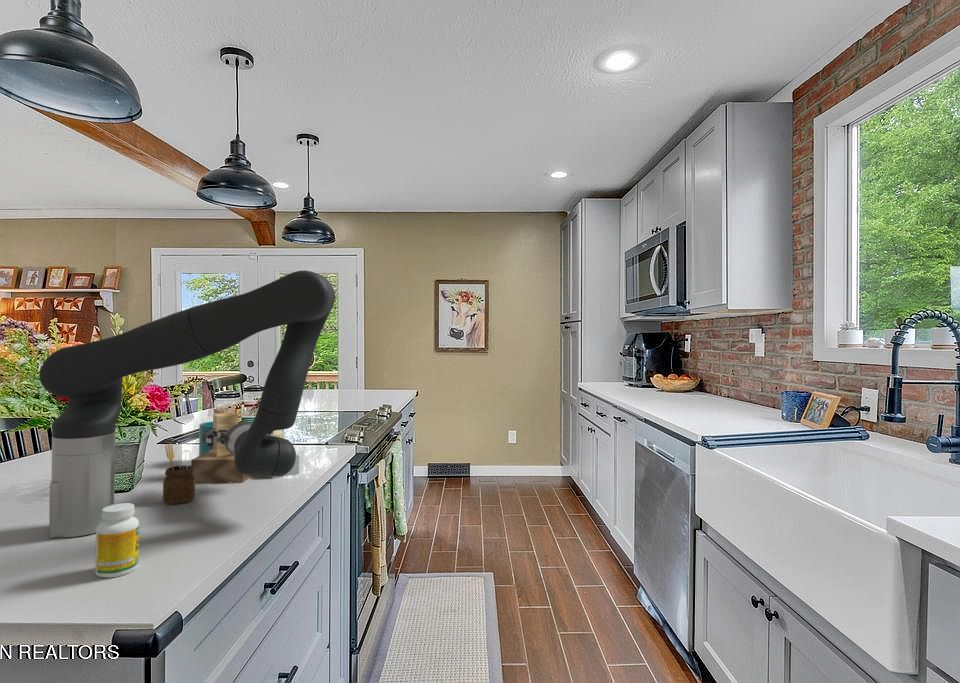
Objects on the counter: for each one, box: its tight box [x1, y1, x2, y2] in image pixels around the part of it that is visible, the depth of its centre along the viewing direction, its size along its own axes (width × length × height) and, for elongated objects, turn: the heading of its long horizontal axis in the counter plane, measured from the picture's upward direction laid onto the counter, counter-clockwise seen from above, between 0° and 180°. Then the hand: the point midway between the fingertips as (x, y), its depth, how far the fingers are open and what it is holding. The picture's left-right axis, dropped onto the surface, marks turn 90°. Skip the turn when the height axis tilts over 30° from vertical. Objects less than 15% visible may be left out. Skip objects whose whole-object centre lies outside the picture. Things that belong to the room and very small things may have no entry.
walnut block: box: [190, 449, 253, 484], centre depth 134 cm, size 12×13×6 cm
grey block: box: [266, 454, 300, 480], centre depth 137 cm, size 7×7×5 cm
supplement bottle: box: [94, 502, 140, 579], centre depth 79 cm, size 5×5×10 cm
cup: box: [198, 421, 213, 456], centre depth 145 cm, size 9×12×11 cm
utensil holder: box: [162, 442, 196, 505], centre depth 113 cm, size 6×6×12 cm
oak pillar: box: [212, 412, 240, 457], centre depth 134 cm, size 5×5×10 cm
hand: (232, 431), depth 126 cm, fingers open, 8 cm apart
